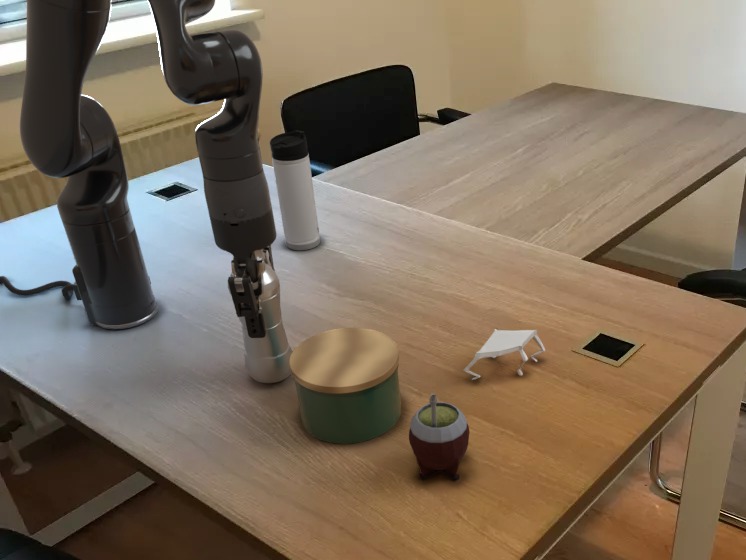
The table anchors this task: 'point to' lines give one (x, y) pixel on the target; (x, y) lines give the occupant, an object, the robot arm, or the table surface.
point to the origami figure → (506, 346)
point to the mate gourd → (438, 438)
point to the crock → (347, 384)
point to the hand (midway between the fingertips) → (262, 323)
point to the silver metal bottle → (267, 334)
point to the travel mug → (295, 190)
